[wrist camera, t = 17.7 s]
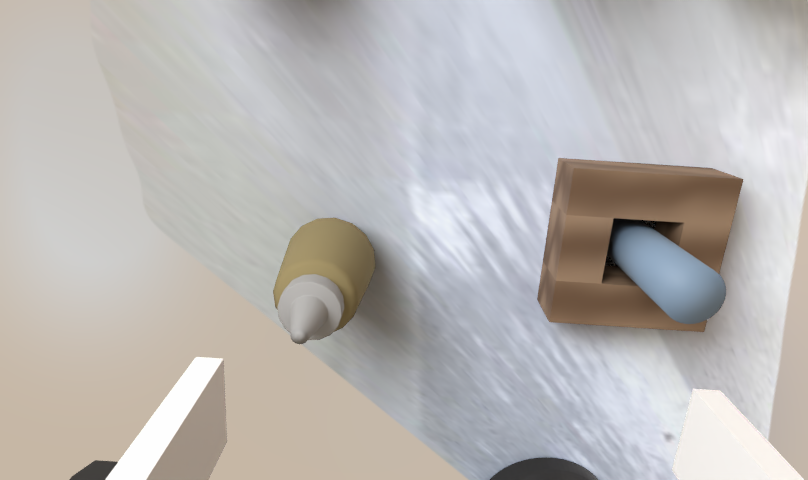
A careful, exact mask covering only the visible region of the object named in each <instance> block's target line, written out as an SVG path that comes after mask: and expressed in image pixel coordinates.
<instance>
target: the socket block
mask: <svg viewBox="0 0 808 480" xmlns="http://www.w3.org/2000/svg"><path fill="white" fill-rule="evenodd" d="M742 183H743V179H741V178H738V177H735V176H732V175H730V174H727V173H724V172H721V171H718V170H715V169H712V168H700V167H685V166H670V165H655V164H640V163H625V162H609V161H594V160H579V159H564V158H559V159H558V165H557V172H556V179H555V185H554V192H553V198H552V205H551V212H550V218H549V225H548V232H547V238H546V245H545V252H544V258H543V265H542V271H541V278H540V285H539V291H538V298H537V300H538V302H539V303H540V305H541V307H542V309H543V311H544V313H545V315H546V317H547V319H548V320H549V322H557V323H573V324H588V325H604V326H619V327H635V328H650V329H666V330H681V331H697V332H704V330H705V326H706V322H707V320H705V321H703V322H700V323H696V324H683V323H679V322H677V321H675V320H673V319H672V318H670V317H669V316H668V315H667V314H666V313H665V312H664V311H663V310H662V309H661V308H660V307H659V306H658V305H657V304H656V303H655V302H654V301H653V300H652V299H651V298H650V297H649V296H648V295H647V294H646V293H645V292H644V291H643V290H642V289H641V288H640V287H639V286H638V285H637V284H636V283H635V282H634V281H633V280H632V279H631V278H630V277H629V276H628V275H627V274H626V273H625V272H624V271H623V270H622V269H621V268H620V267H619V266H608V265H605V261H606V256H607V251H608V245H609V240H610V235H611V229H612V224H613V219H614V218H620V219H635V220H650V221H656V224H655V229H654V230H656V231H657V232H659V233H660V234H662V235H663V236H665V237H666V238H668V239H669V240H670V241H672V242H673V243H675V244H676V245H678V246H679V247H681V248H682V249H684V250H685V251H686V252H688V253H689V254H691V255H692V256H694V257H695V258H697V259H698V260H700V261H701V262H703V263H704V264H705V265H707V266H708V267H710V268H711V269H713V270H714V271H716V272H717V273H718V274H719V272H720V268H721V264H722V260H723V256H724V252H725V249H726V245H727V241H728V237H729V233H730V229H731V225H732V221H733V217H734V214H735V210H736V206H737V202H738V198H739V194H740V190H741V186H742Z"/></svg>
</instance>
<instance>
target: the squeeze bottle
mask: <svg viewBox="0 0 808 480" xmlns="http://www.w3.org/2000/svg"><path fill="white" fill-rule="evenodd" d="M374 269H375V257H374V249H373V247H372V245H371V244H370V242H369V240H368V238H367V236H366V235H365V234H364V233H363V232H362V231H361V230H359V229H358V228H357V227H356V226H355V225H353V224H352V223H349V222H346V221H343V220H340V219H337V218H323V219H316V220H314V221H312V222H310V223H307V224H305V225H303V226H301V228H300V229H299V230H298V231H297V232H296V233H295V235H294V236H293V237H292V238H291V240H290V242H289V245H288V248H287V251H286V254H285V257H284V260H283V262H282V265H281V268H280V271H279V274H278V277H277V280H276V284H275V287H274V290H273V293H274V300H275V307H276V308H277V310H278V315H279V319H280V321H281V323H282V324H283V326H284V328H285V329H286V330H287V331H289V332H290V333H291V339H292V340H293V342H295V343H297V344H303V343H305V342H306V341H307V340H320V339H322V338H324V337H327V336H329V335H331V334H332V333H333V332H334V331H337V330H339V329H341V328H343V327H344V326H345V325H346V324H347V323H348V322H349V321H350V320H351V318H352V317H353V316H354V314H355V312H356V310H357V308H358V306H359V304H360V301H361V299H362V297H363V295H364V293H365V291H366V289H367V287H368V285H369V283H370V280H371V277H372V275H373V272H374Z"/></svg>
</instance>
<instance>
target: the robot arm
mask: <svg viewBox="0 0 808 480" xmlns="http://www.w3.org/2000/svg"><path fill="white" fill-rule="evenodd" d="M225 408H226V406H225V384H224V360H223V359H220V358H203V357H196V358H195V359H194V360H193V362H192V363H191V364H190V366H189V367H188V368H187V370H186V371H185V372H184V374H183V375H182V377H181V378H180V379H179V381H178V382H177V383H176V385H175V386H174V387H173V389H172V390H171V392H170V393H169V394H168V395H167V397H166V398H165V399H164V401H163V402H162V404H161V405H160V406H159V408H158V409H157V410H156V412H155V413H154V414H153V416H152V417H151V419H150V420H149V421H148V423H147V424H146V425H145V427H144V428H143V429H142V431H141V432H140V434H139V435H138V436H137V437H136V439H135V440H134V441H133V443H132V444H131V446H130V447H129V448H128V450H127V451H126V453H125V454H124V455H123V456H122V458H121V459H120V461H119V462H110V461H94V462H92V463H91V464H89V465H88V466H86V467H85V468H84V469H82V470H81V471H79V472H78V473H76V474H75V475H74V476H72V477H71V479H70V480H208V479H209V477H210V475H211V473H212V471H213V469H214V467H215V465H216V463H217V461H218V459H219V457H220V455H221V453H222V451H223V449H224V447H225V445H226V443H227V431H226V409H225ZM672 471H673V472H674V474H675V475H676V477H677V479H678V480H804V479H803V478H802V477H801V476H800V475H799V474H798V473H797V472H796V470H795V469H793V467H792V466H791V465H790V464H789V463H788V462H787V461H786V460H785V459H784V458H783V457H782V456H781V455H780V454H779V453H778V451H777V450H776V449H775V448H774V447H773V446H772V445H771V444H770V443H769V442H768V441H767V440H766V439H765V438H764V436H763V435H762V434H761V433H760V432H759V431H758V430H757V429H756V428H755V427H754V426H753V425H752V424H751V423H750V422H749V421H748V419H747V418H746V417H745V416H744V415H743V414H742V413H741V412H740V411H739V410H738V409H737V408H736V407H735V406H734V405H733V404H732V402H731V401H730V400H729V399H728V398H727V397H726V396H725V395H724V394H723V393H722V392H721V391H719V390H704V389H693V391H692V395H691V399H690V402H689V406H688V410H687V414H686V418H685V422H684V426H683V429H682V433H681V437H680V441H679V445H678V449H677V452H676V456H675V460H674V464H673V468H672ZM490 480H598V479H597V478H596V477H595V476H594V475H593V474H592V473H591V472H590V471H588V470H587V469H585V468H584V467H582V466H580V465H578V464H576V463H573V462H570V461H567V460H563V459H557V458H534V459H528V460H524V461H521V462H518V463H515V464H512V465H510V466H508V467H506V468H504V469H503V470H501V471H500V472H498V473H497V474H496V475H494V476H493V477H492V478H491V479H490Z"/></svg>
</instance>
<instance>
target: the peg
mask: <svg viewBox="0 0 808 480" xmlns="http://www.w3.org/2000/svg"><path fill="white" fill-rule="evenodd" d="M607 256H608V257H609V258H610V259H611V260H612V261H613V262H615V263H616V264H617V265H618V266H619V267H620V268H621V269H622V270H623V271H624V272H625V273H626V274H627V275H628V276H629V277H630V278H631V279H632V280H633V281H634V282H635V283H636V284H637V285H638V286H639V287H640V288H641V289H642V290H643V291H644V292H645V293H646V294H647V295H648V296H649V297H650V298H651V299H652V300H653V301H654V302H655V303H656V304H657V305H658V306H659V307H660V308H661V309H662V310H663V311H664V312H665V313H666V314H667V315H668V316H669V317H670V318H672V319H673V320H675V321H677V322H679V323H683V324H696V323H700V322H703V321H705V320H707V319H709V318H711V317H712V316H713V315H714V314H715V313H717V311H718V310H719V309H720V308H721V306H722V304H723V302H724V300H725V296H726V286H725V283H724V280H723V279H722V277H721V276H720V275H719V274H718V273H717V272H716V271H714V270H713V269H711V268H710V267H708V266H707V265H705V264H704V263H703V262H701V261H700V260H698V259H697V258H695V257H694V256H692V255H691V254H689V253H688V252H686V251H685V250H684V249H682V248H681V247H679V246H678V245H676V244H675V243H673V242H672V241H670V240H669V239H668V238H666V237H665V236H663V235H662V234H660V233H659V232H657V231H656V230H654V229H653V228H651V227H650V226H649V225H647V224H646V223H644V222H643V221H641V220H635V219H620V218H614V219H613V224H612V229H611V235H610V240H609V245H608V251H607Z"/></svg>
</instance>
